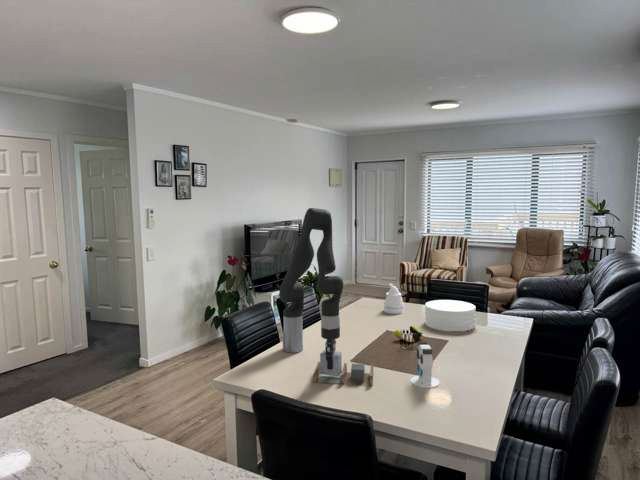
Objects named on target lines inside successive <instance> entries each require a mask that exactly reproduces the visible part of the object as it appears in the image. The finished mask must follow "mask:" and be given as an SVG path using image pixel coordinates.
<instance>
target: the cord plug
mask: <svg viewBox="0 0 640 480" xmlns="http://www.w3.org/2000/svg"><path fill="white" fill-rule="evenodd" d="M351 364H352V365H351V368H350V373H351V382H364V377H365V371H366V370H365V367H366V365H365V364H364V363H363V364H361V363H351Z"/></svg>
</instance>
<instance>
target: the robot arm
mask: <svg viewBox="0 0 640 480" xmlns="http://www.w3.org/2000/svg"><path fill="white" fill-rule="evenodd" d="M332 219H333V218H332V214H331V211H329V210H328V209H322V208H316V207H310V208H308V209H307V210H306V212H305V215H304V217H303V221H302V224H301V225H302V226H301V230H300V233H299V238H298V240H297V243H296V246H295V248H294V251H293V254H292V257H291V260H290V263H289V267H288V269H287V272H286V274H285V276H284V278H283V281H282V282H281V284H280V287H279V290H278V291H279V293H278V295H279V299H280V301H281V302H283V303H284V304H285V303H287V304H288V303H290V304H289V305H288V306H287V307H285V308H284V309H283V331H282V352H286V353H291V354H294V353H301V352H302V351H303V350H304V345H303V343H304V340H303V337H304V336H303V335H304V334H303V333H304V332H303V331H304V330H303V326H304V325H303V312H304V303H305V301H304V300H305V291H304V286H303V284H302V283H301V282H299V281H298V280H299V279H300V278H301V277H302V276H303V275H305V273H307V271H308V270H309V269H310V268H311V266H312V262H313V260H314V257H315V250H314V247H313V244H312V241H311V233H312V230H315V231H322V235H323V237H322V240H321V242H320V244H319V245H318V248H317V251H316V261H317V262H316V263H317V267H318V273H317V274H318V276H317V280H316V282H317V283H316V289H317V292H318V294H320V295H331V297H329V298H327V299H323V300H322V301H321V318H320V319H321V320H320V330H321V331H320V333H321V334H320V336H321V338H322V339H324V340H326V341H325V342H324V343H325V344H324V345H325V351H326V361H327V369H328V370H332V369H333V355H334V351H336V348H337V345H336V344H337V341H336V340H337V339H339V338H340V336H341V325H340V324H341V318H340V302H341V297H342V293H343V289H344V281H343V278H342V277H341V276H339V275H331V276H326V275H329V274H332V273H334V272H335V270H336V267H337V266H336V260H335V255H334V249H333V248H334V247H333V220H332ZM332 351H333V352H332ZM336 352H337V351H336ZM328 356H331V357H328Z"/></svg>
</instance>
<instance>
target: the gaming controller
mask: <svg viewBox="0 0 640 480" xmlns="http://www.w3.org/2000/svg"><path fill="white" fill-rule="evenodd" d="M410 331H411V332H412V333H413V342H412V343H415V342H418V341H422V340H423V336H424V335H423V334H424V333H423V332H422V331H419V329H418V328H417V327H416V326H414V325H410V326H409V332H410ZM401 332H402V331H401V330H399V329H396V330H395V331H394V335H395V336H396V338H397V339H399V340H401V339H400V334H401Z"/></svg>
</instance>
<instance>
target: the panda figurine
mask: <svg viewBox="0 0 640 480" xmlns="http://www.w3.org/2000/svg"><path fill="white" fill-rule="evenodd" d="M416 359H417V363H418V364H417V371H418V375H415V376H413V377H411V378H410V381H409V382H410V383H411V385H413V386H415V387H417V388H422V389H434V388H437V387H439V386H440V384H441V382H440V380H439V379H438V378H436V377H433V376H432V370H433V365H434V361H433V359H434V358H433V349H432V347H431V346H430V344H428V342H427V341H425V340H423V341H422V340H419V341H417V349H416Z"/></svg>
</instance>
